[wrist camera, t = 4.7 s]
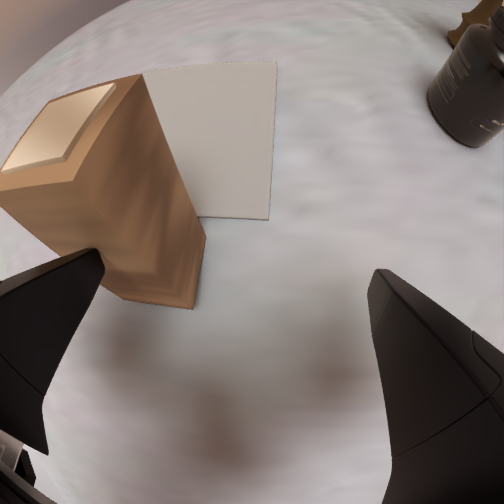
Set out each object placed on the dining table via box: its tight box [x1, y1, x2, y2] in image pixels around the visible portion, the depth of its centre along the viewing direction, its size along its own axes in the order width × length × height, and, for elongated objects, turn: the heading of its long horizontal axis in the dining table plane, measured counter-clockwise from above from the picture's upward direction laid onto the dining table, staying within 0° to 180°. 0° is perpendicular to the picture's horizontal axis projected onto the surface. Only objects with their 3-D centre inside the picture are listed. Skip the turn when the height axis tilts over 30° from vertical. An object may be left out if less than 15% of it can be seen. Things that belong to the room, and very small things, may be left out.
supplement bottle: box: [428, 5, 504, 147], centre depth 10 cm, size 7×7×12 cm
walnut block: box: [0, 74, 206, 310], centre depth 11 cm, size 4×4×11 cm
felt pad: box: [141, 62, 277, 220], centre depth 18 cm, size 13×12×1 cm
